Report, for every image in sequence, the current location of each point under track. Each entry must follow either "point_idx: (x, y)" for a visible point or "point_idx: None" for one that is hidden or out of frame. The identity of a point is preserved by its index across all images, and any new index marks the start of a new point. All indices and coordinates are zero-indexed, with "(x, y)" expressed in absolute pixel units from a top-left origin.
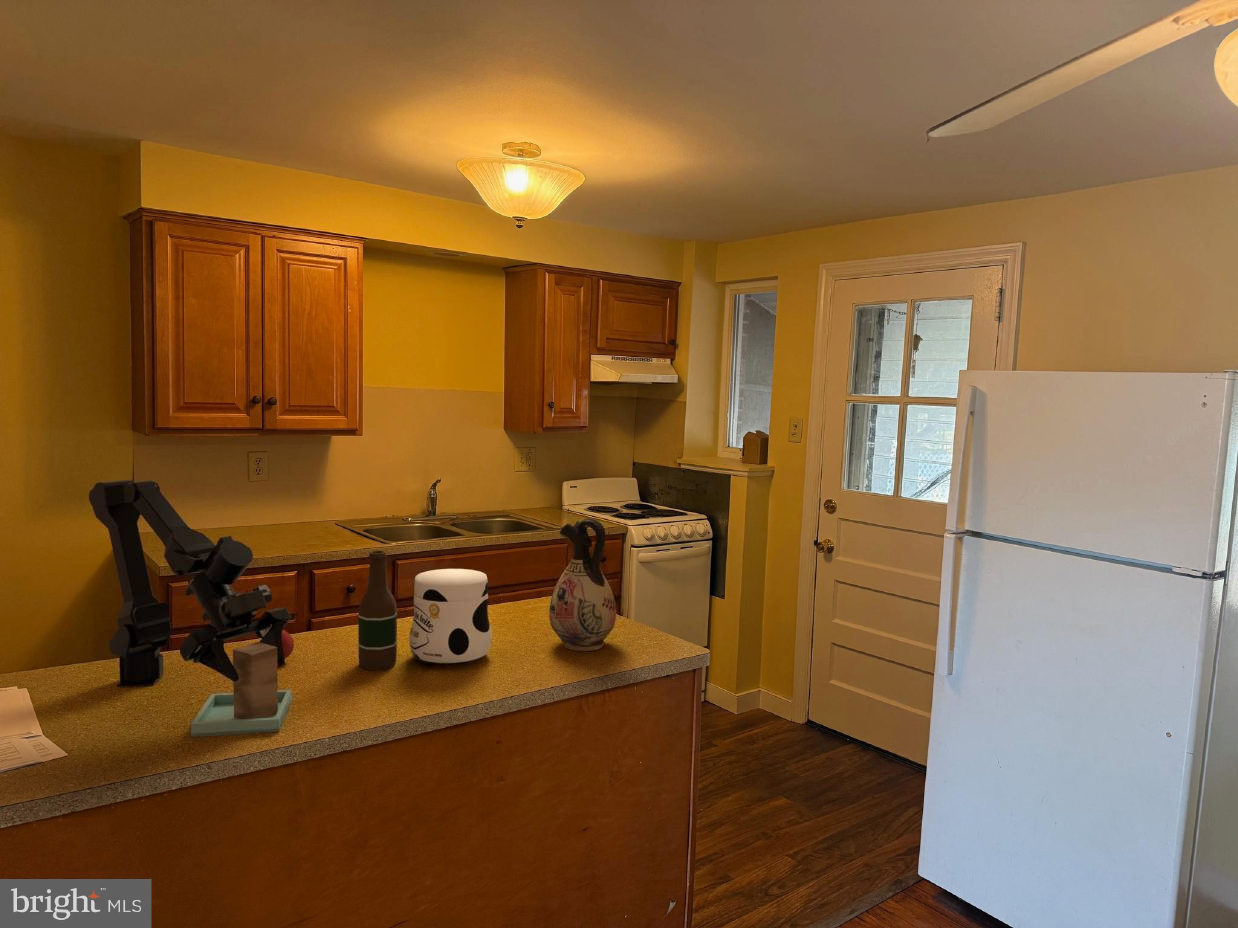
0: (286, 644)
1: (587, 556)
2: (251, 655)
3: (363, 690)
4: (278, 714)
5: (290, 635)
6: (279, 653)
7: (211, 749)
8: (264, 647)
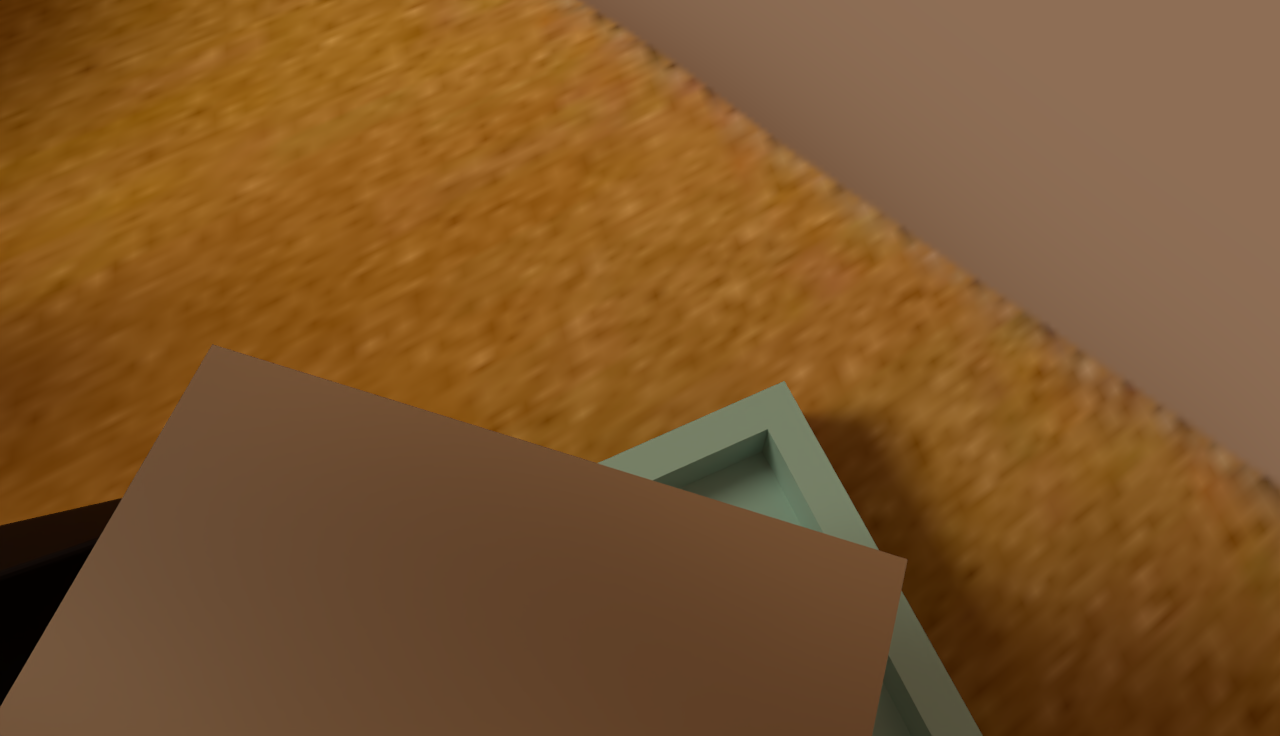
0: None
1: None
2: (889, 594)
3: (10, 284)
4: (706, 437)
5: None
6: (56, 560)
7: (1235, 709)
8: (268, 619)
